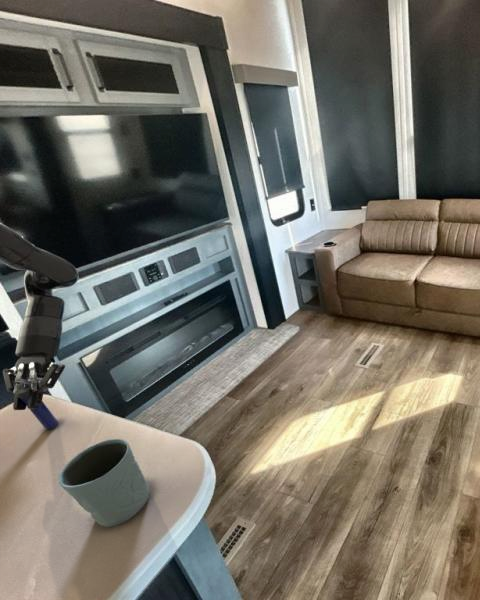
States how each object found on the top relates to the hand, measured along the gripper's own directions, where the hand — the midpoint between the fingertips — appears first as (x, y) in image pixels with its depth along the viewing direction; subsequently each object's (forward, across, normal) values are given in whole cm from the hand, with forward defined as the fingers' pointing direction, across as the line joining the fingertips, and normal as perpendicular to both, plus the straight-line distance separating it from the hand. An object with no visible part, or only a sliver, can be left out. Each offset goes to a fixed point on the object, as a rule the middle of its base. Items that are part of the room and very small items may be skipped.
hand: (26, 408), depth 85 cm
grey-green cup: (+21, +34, -10) cm, 41 cm away
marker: (+4, 0, +7) cm, 8 cm away
